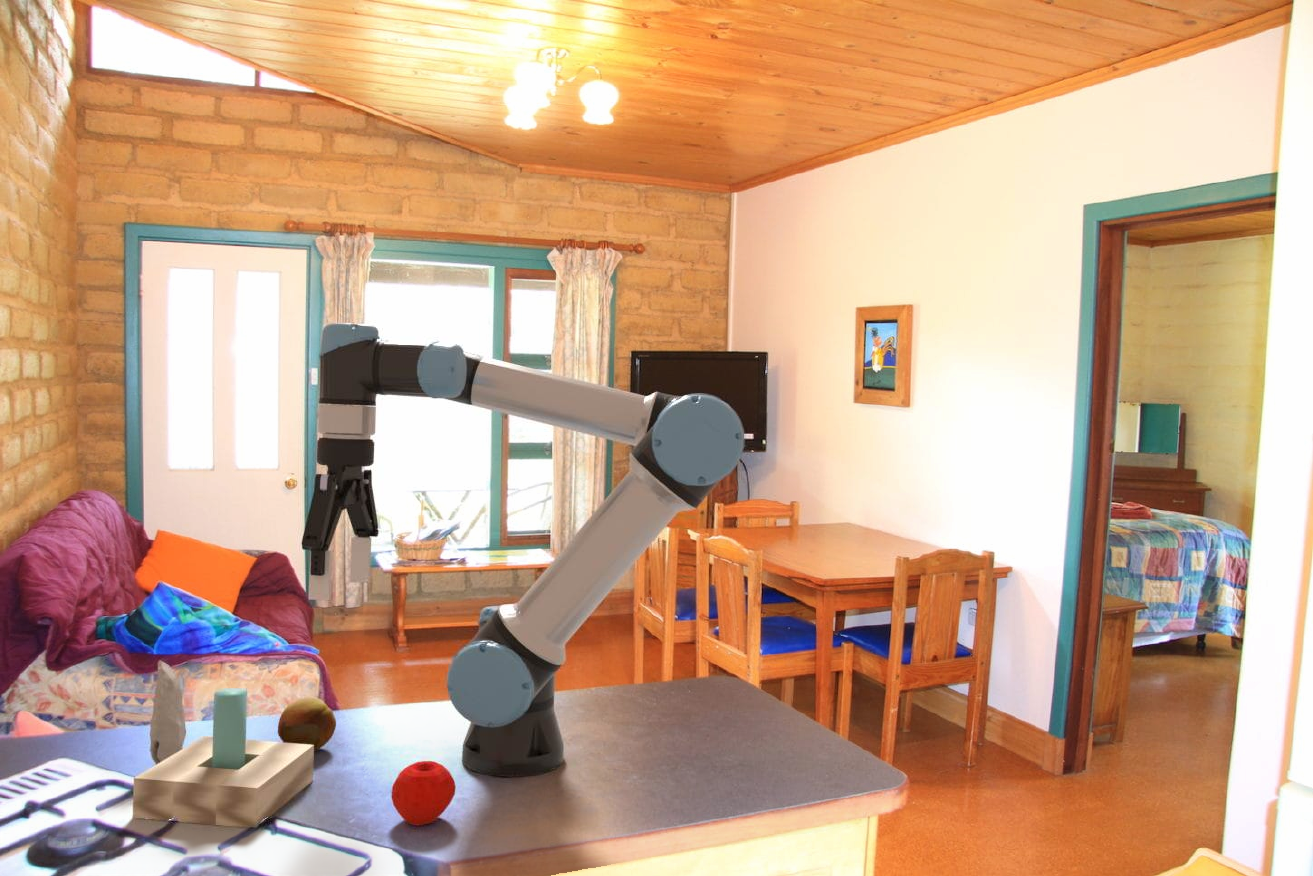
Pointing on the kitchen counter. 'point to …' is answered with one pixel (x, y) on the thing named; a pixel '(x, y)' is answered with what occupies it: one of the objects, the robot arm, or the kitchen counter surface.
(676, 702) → the kitchen counter surface
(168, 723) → the stone tool
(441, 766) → the apple
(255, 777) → the socket block
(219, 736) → the peg
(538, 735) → the robot arm
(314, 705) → the fruit
